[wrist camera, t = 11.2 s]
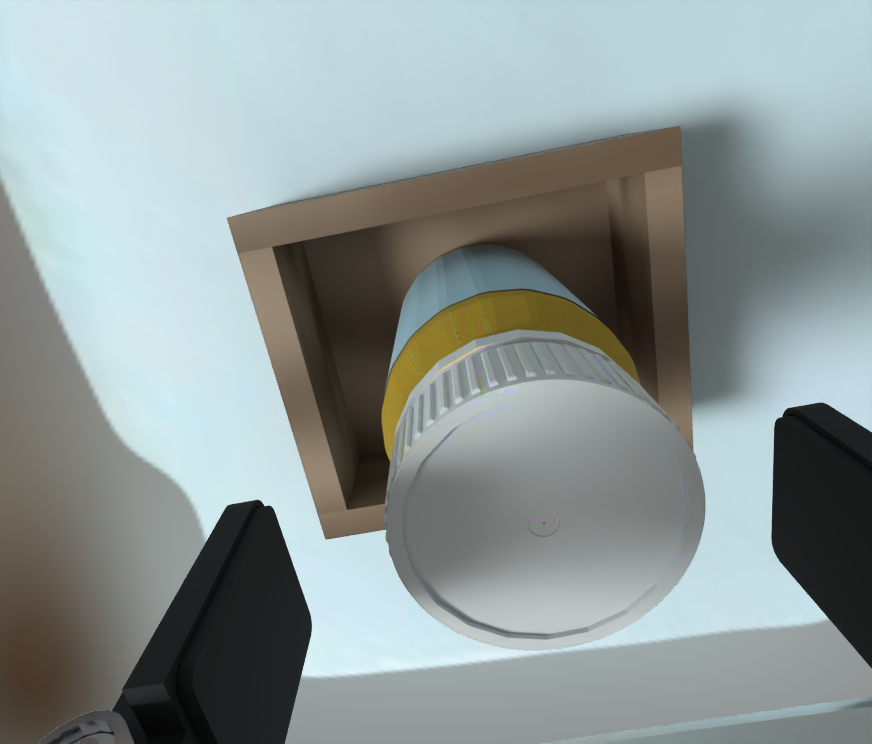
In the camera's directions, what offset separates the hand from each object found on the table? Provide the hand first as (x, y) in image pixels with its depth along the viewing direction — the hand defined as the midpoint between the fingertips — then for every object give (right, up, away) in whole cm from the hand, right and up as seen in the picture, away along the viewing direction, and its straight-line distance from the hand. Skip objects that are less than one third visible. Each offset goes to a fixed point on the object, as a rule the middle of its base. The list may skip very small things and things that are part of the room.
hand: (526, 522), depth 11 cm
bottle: (0, +5, +15) cm, 15 cm away
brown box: (0, +5, +15) cm, 16 cm away
